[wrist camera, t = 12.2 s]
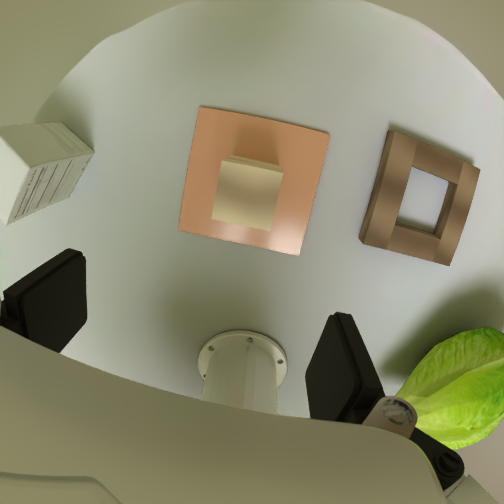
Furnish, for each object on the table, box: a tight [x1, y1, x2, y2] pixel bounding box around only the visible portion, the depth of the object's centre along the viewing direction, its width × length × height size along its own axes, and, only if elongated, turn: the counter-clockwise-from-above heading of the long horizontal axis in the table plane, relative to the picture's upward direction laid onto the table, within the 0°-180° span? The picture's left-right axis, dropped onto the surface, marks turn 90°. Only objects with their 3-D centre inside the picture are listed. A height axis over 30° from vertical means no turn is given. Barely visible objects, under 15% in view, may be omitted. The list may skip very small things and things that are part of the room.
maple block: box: [211, 155, 283, 231], centre depth 29 cm, size 5×5×8 cm
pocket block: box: [359, 131, 480, 266], centre depth 31 cm, size 13×13×2 cm
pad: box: [178, 107, 330, 256], centre depth 33 cm, size 14×14×1 cm
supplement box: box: [0, 122, 94, 226], centre depth 27 cm, size 7×7×13 cm
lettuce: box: [395, 327, 504, 450], centre depth 33 cm, size 19×25×17 cm
